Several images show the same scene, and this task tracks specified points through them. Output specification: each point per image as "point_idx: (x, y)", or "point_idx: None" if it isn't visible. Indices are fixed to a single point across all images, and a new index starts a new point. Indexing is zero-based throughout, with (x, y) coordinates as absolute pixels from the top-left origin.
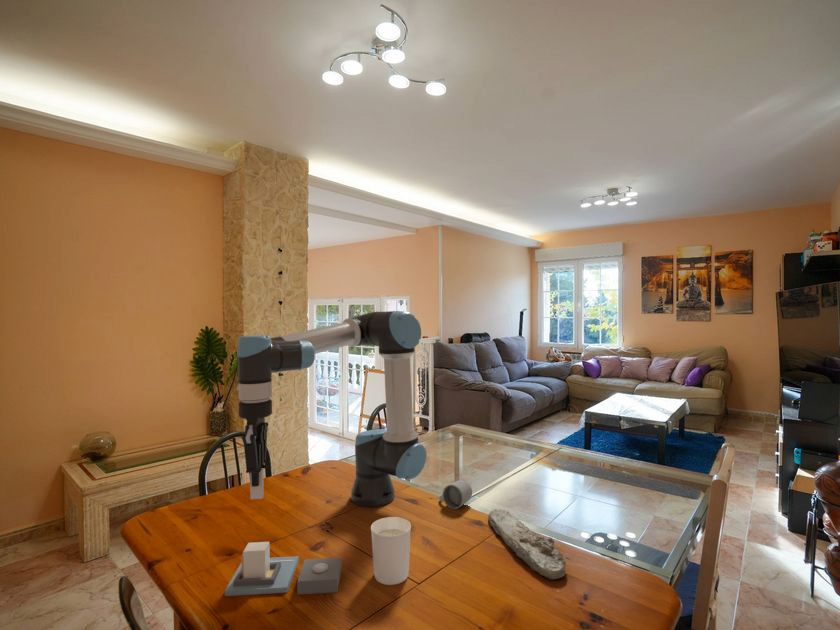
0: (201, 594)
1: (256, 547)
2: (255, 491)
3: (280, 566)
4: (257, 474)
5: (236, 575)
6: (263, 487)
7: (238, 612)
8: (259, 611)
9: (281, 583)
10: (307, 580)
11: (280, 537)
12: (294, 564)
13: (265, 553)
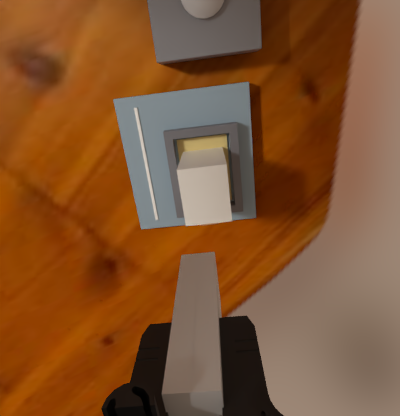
0: (246, 256)
1: (210, 194)
2: (219, 306)
3: (168, 130)
4: (268, 395)
5: None
6: (179, 284)
7: (307, 165)
8: (309, 122)
9: (233, 102)
10: (258, 17)
11: (20, 185)
12: (151, 97)
13: (221, 161)
